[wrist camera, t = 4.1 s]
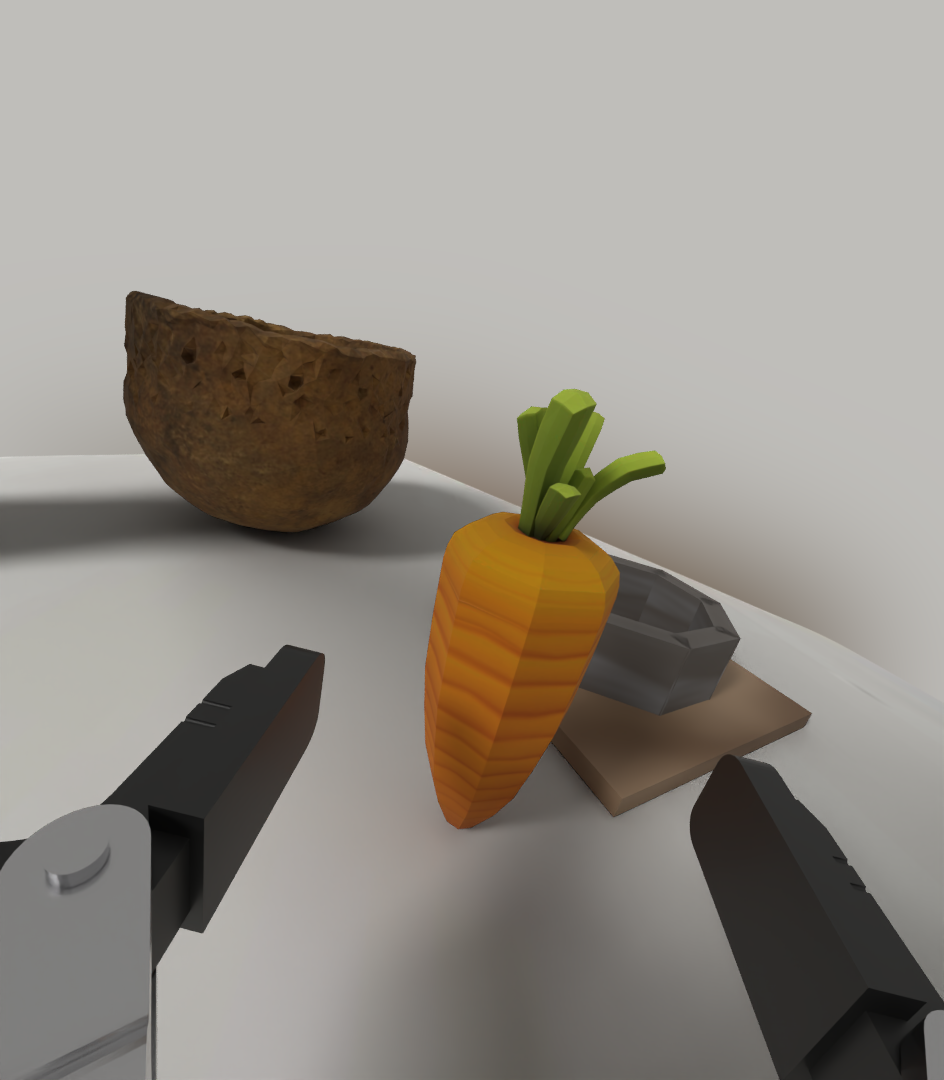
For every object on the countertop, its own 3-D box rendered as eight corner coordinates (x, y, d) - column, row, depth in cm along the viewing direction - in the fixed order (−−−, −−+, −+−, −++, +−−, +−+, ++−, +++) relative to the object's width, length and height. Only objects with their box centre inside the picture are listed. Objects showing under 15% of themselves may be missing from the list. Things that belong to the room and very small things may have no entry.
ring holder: (438, 604, 30) (453, 535, 29) (606, 589, 39) (626, 535, 37) (613, 817, 18) (659, 718, 16) (803, 726, 26) (847, 655, 25)
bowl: (107, 583, 25) (85, 275, 20) (145, 477, 40) (138, 286, 34) (426, 574, 34) (468, 364, 29) (360, 491, 49) (380, 342, 44)
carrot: (468, 747, 20) (570, 387, 14) (553, 847, 16) (726, 424, 11) (362, 798, 16) (443, 357, 11) (441, 935, 13) (610, 397, 8)
